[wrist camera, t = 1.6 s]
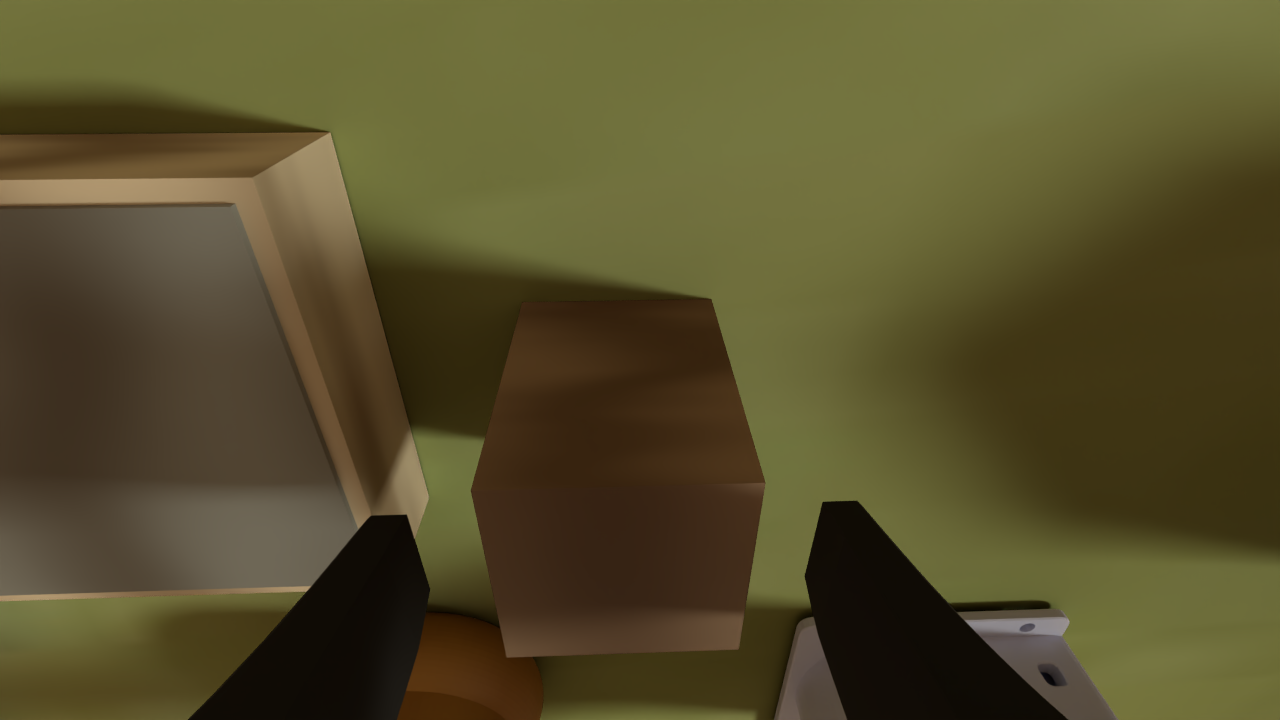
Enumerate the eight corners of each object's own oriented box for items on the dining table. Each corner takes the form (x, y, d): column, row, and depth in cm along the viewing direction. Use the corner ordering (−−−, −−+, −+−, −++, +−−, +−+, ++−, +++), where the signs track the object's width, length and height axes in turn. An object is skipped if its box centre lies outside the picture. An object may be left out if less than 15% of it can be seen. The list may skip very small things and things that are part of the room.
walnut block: (711, 298, 14) (765, 482, 9) (700, 441, 16) (738, 649, 11) (522, 301, 14) (470, 490, 9) (539, 445, 16) (506, 657, 11)
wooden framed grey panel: (330, 132, 12) (247, 180, 9) (429, 497, 17) (395, 593, 14) (-208, 136, 11) (-457, 187, 9) (69, 507, 17) (-33, 607, 14)
